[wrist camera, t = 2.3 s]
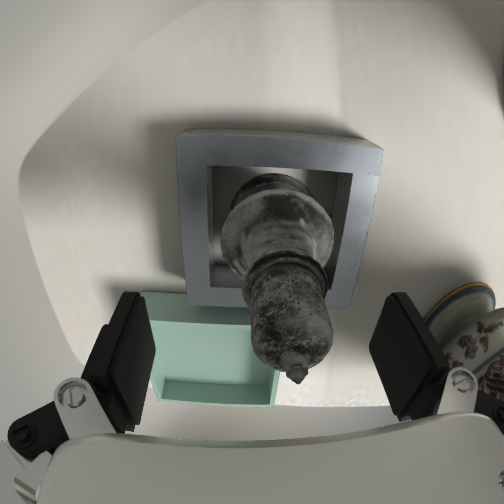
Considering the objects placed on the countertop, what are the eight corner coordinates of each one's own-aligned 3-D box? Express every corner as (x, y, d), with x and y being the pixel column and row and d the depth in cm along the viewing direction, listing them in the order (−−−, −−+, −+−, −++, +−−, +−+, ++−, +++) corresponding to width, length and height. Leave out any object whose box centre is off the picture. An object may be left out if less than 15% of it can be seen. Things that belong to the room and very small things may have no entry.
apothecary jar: (459, 363, 28) (512, 489, 13) (382, 362, 27) (431, 532, 11) (518, 281, 22) (607, 411, 7) (448, 260, 21) (568, 453, 5)
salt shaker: (254, 269, 21) (257, 437, 11) (207, 197, 18) (157, 357, 8) (334, 232, 19) (403, 390, 9) (295, 151, 17) (368, 273, 6)
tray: (283, 296, 22) (287, 325, 19) (272, 380, 27) (273, 406, 25) (142, 291, 22) (131, 318, 19) (163, 375, 27) (158, 400, 25)
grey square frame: (367, 139, 16) (383, 148, 14) (339, 285, 22) (348, 307, 19) (186, 129, 16) (175, 136, 14) (193, 281, 21) (188, 304, 19)
